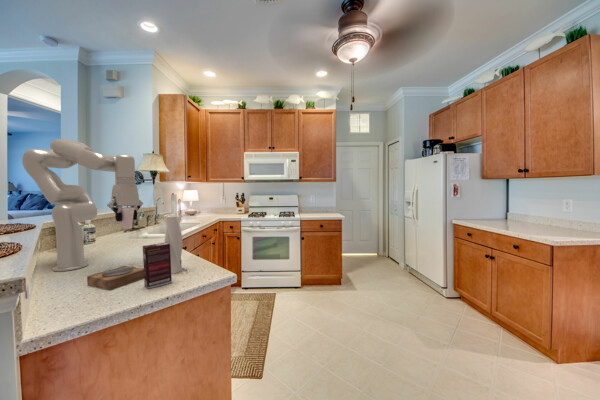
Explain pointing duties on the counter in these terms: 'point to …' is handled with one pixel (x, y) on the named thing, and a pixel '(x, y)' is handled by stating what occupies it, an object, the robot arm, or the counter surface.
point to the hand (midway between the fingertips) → (126, 220)
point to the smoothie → (127, 217)
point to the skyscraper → (174, 241)
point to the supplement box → (157, 265)
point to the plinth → (115, 277)
